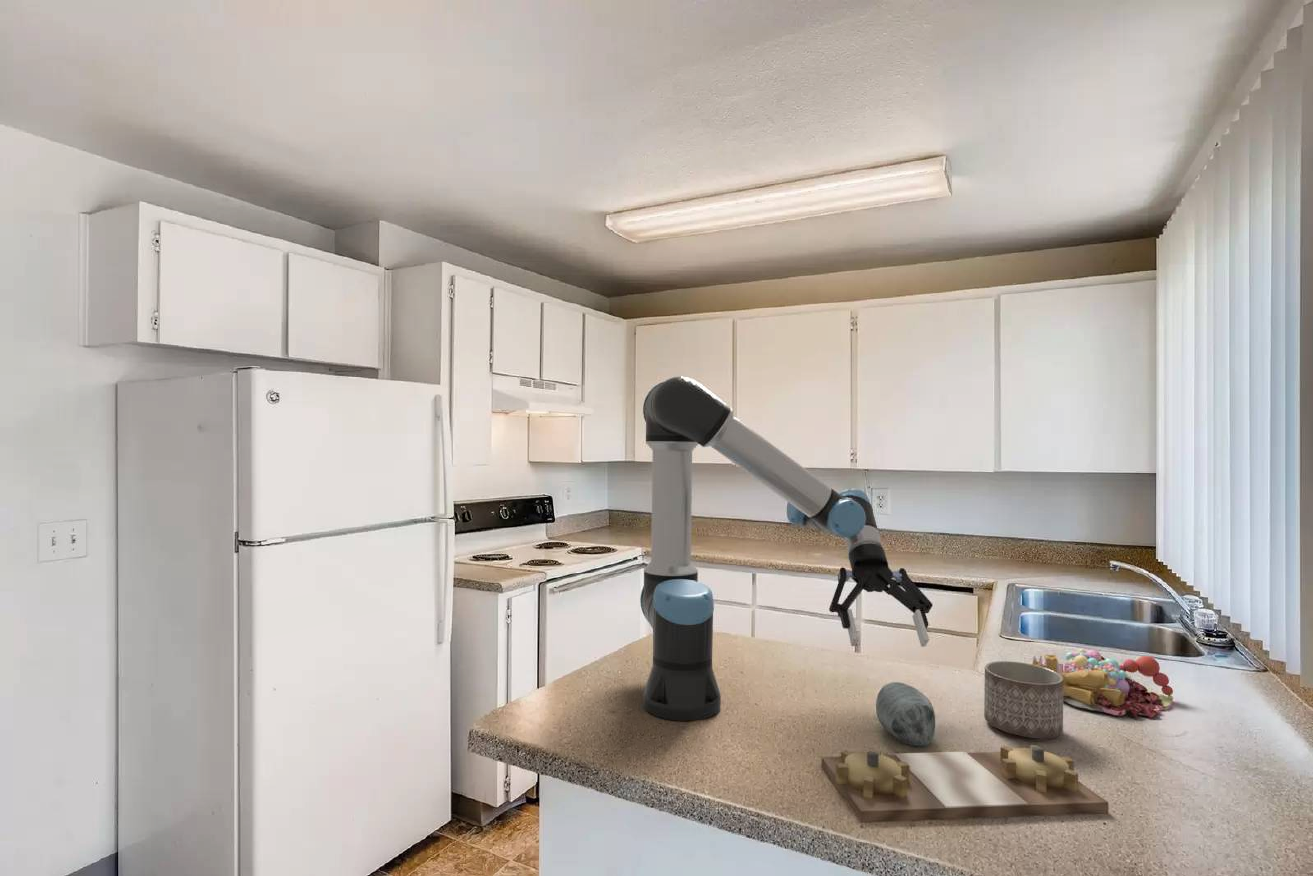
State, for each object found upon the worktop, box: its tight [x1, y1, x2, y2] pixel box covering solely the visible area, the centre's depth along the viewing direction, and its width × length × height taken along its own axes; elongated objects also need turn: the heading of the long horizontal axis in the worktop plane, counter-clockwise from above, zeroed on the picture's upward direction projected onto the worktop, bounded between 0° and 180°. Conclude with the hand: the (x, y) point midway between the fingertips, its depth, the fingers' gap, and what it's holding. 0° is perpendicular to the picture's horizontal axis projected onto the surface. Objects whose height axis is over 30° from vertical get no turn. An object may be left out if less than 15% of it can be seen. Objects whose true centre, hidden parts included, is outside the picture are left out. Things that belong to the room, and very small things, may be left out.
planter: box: [983, 660, 1064, 739], centre depth 124 cm, size 13×13×10 cm
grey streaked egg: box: [875, 681, 936, 748], centre depth 120 cm, size 14×10×10 cm
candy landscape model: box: [1031, 648, 1174, 719], centre depth 141 cm, size 25×24×9 cm
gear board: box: [820, 744, 1109, 823], centre depth 101 cm, size 37×16×6 cm, turn 95°
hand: (890, 643), depth 130 cm, fingers open, 13 cm apart
